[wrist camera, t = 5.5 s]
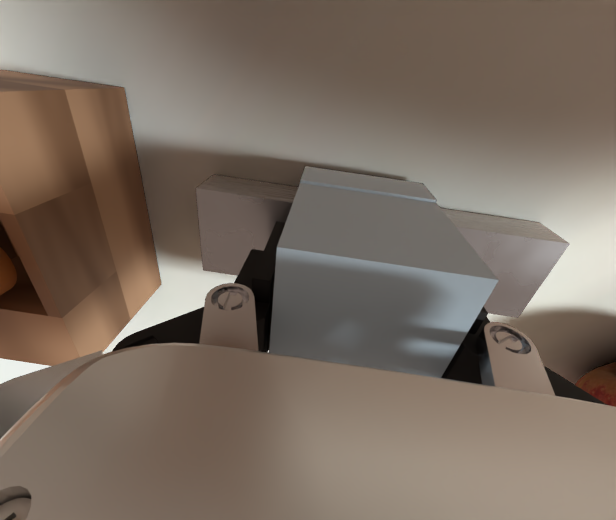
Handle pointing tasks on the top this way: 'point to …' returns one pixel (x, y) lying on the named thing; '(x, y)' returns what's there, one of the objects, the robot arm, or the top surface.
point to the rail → (474, 227)
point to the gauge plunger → (6, 272)
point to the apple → (601, 383)
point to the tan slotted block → (70, 218)
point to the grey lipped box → (374, 276)
